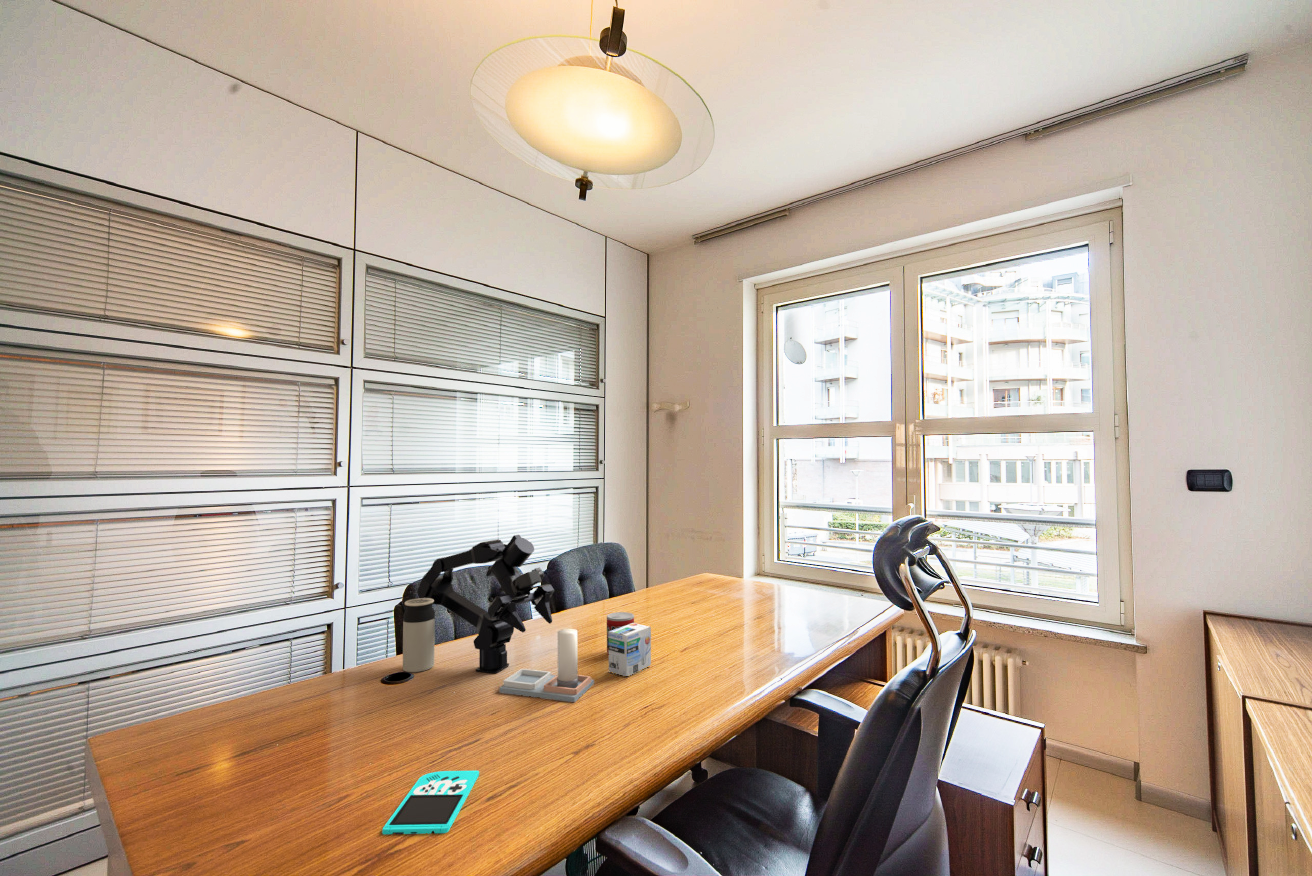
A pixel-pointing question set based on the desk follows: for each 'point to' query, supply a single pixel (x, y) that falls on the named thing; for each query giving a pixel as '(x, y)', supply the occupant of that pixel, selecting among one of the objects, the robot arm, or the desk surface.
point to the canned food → (617, 622)
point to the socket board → (543, 685)
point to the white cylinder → (567, 658)
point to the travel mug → (418, 635)
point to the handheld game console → (432, 803)
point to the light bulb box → (629, 649)
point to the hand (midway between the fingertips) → (538, 626)
